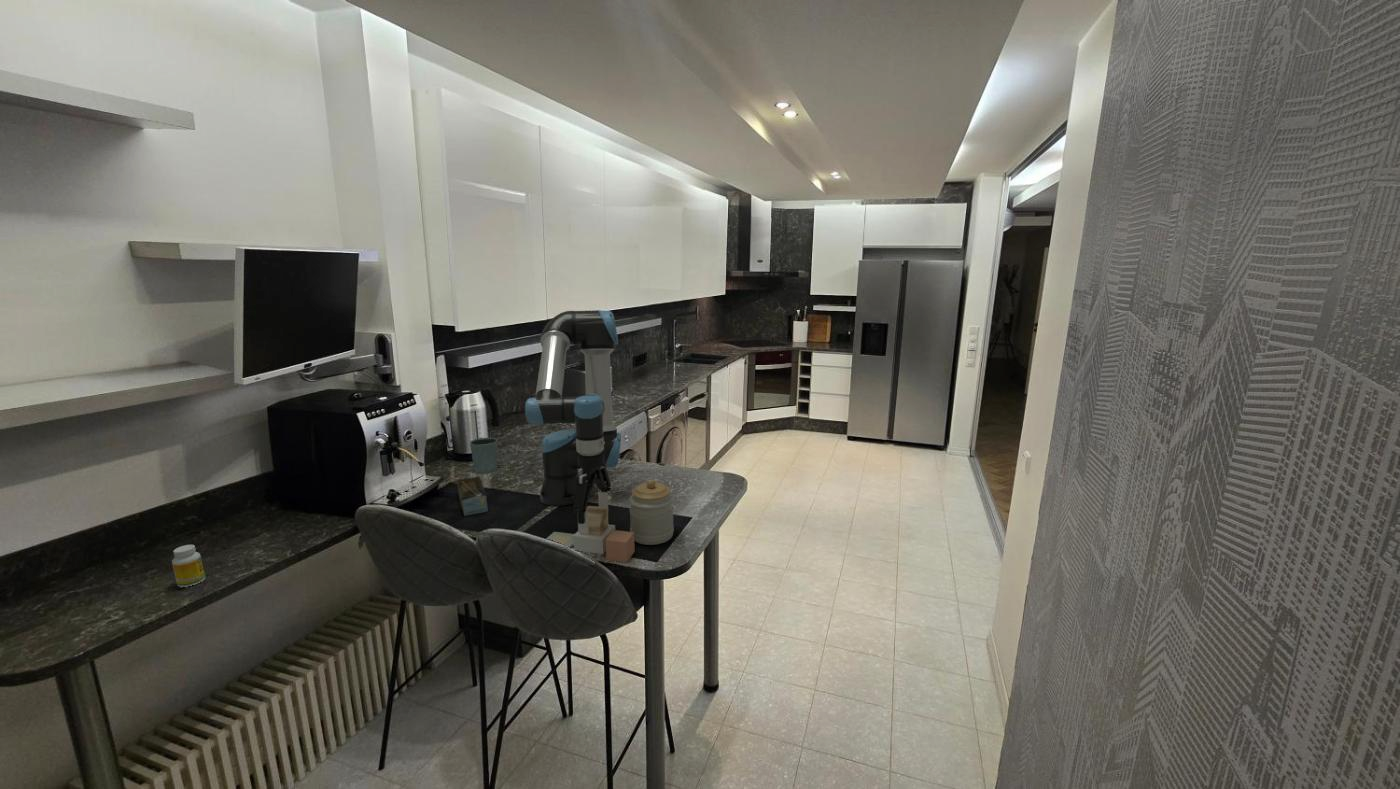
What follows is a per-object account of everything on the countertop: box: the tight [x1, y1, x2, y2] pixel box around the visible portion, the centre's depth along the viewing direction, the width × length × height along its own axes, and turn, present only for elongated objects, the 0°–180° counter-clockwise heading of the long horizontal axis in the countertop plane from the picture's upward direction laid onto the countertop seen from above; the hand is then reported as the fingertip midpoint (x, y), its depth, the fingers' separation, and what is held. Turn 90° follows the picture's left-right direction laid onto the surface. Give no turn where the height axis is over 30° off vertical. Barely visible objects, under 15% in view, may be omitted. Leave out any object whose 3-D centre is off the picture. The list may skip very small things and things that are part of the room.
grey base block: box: [573, 523, 616, 555], centre depth 159 cm, size 9×9×4 cm
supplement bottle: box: [171, 544, 206, 588], centre depth 140 cm, size 5×5×10 cm
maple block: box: [580, 505, 609, 536], centre depth 158 cm, size 6×6×6 cm
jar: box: [628, 479, 675, 546], centre depth 164 cm, size 13×13×18 cm
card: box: [546, 531, 575, 548], centre depth 161 cm, size 9×9×1 cm
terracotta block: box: [605, 529, 636, 563], centre depth 153 cm, size 6×6×6 cm
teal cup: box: [469, 437, 498, 475], centre depth 219 cm, size 10×10×12 cm
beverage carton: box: [456, 476, 489, 517], centre depth 188 cm, size 8×19×7 cm, turn 27°
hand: (594, 522), depth 158 cm, fingers open, 13 cm apart
